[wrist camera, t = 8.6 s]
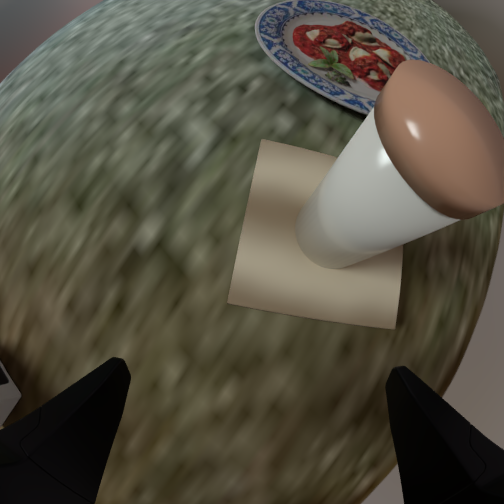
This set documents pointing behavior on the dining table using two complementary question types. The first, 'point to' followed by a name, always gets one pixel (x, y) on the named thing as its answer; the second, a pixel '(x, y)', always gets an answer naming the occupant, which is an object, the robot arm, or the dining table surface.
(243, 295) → the base block
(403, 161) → the jar
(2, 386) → the container
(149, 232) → the dining table surface
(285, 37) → the ceramic plate
